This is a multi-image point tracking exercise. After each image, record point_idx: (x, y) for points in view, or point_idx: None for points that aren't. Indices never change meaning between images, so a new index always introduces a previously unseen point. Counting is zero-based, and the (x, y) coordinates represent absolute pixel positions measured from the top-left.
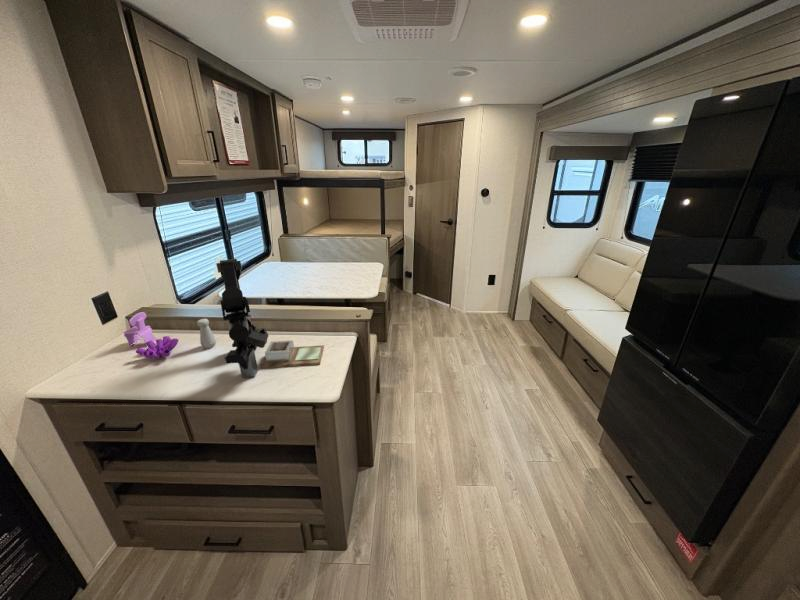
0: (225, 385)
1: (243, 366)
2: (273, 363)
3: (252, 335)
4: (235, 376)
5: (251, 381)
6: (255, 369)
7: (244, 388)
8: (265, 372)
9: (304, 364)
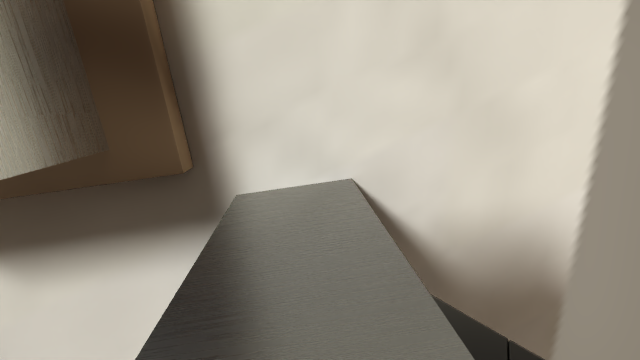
0: None
1: None
2: (110, 54)
3: None
4: None
5: (413, 177)
6: (297, 203)
7: (508, 191)
8: (266, 103)
9: None
